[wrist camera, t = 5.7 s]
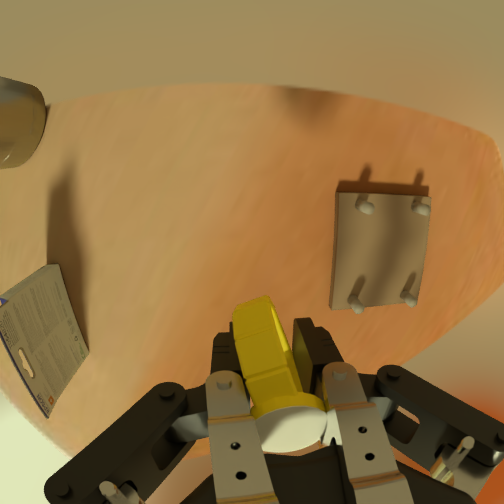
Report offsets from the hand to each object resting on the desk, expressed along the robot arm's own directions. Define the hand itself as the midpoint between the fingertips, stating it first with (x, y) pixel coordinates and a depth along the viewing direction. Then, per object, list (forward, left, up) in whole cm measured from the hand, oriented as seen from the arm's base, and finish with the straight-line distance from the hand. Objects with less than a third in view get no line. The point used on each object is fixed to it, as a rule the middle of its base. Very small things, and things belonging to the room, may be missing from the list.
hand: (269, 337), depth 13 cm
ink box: (-21, -6, -14) cm, 26 cm away
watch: (0, 0, -1) cm, 1 cm away
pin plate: (+12, 0, -13) cm, 18 cm away
